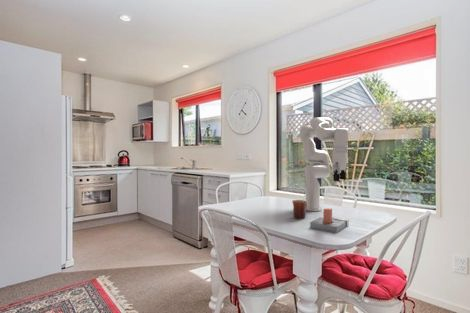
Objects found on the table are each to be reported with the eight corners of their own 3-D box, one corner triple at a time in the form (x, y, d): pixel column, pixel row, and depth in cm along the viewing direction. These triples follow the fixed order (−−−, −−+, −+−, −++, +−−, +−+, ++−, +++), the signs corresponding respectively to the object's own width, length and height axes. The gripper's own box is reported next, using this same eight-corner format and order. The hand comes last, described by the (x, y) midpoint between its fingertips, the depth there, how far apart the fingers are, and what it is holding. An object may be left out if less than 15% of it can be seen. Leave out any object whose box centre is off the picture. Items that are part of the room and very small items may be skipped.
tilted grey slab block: (328, 223, 155) (328, 217, 154) (330, 222, 157) (330, 216, 157) (346, 227, 148) (346, 220, 148) (348, 225, 151) (348, 219, 151)
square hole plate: (310, 227, 145) (310, 222, 145) (320, 222, 156) (320, 217, 156) (336, 232, 136) (336, 226, 136) (345, 227, 147) (345, 221, 147)
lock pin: (323, 227, 146) (323, 208, 146) (325, 226, 149) (325, 207, 149) (329, 228, 144) (329, 209, 144) (331, 227, 147) (332, 208, 146)
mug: (301, 220, 161) (301, 203, 161) (289, 217, 167) (289, 201, 167) (312, 217, 169) (312, 200, 169) (299, 214, 175) (300, 198, 175)
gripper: (339, 149, 163) (338, 178, 164) (327, 150, 150) (326, 181, 151) (352, 150, 159) (351, 179, 159) (341, 150, 146) (340, 182, 146)
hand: (339, 180), depth 155 cm, fingers open, 9 cm apart
